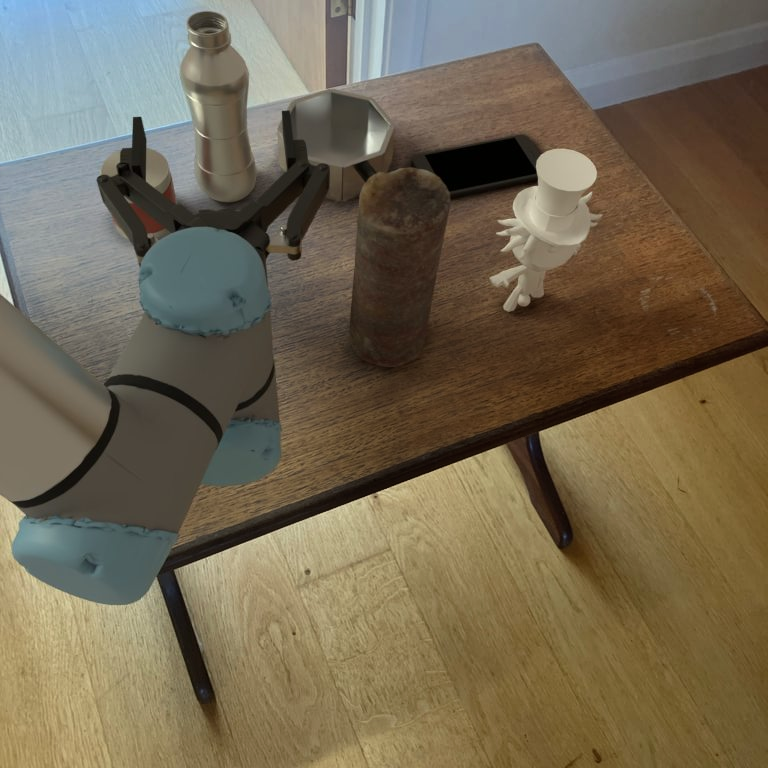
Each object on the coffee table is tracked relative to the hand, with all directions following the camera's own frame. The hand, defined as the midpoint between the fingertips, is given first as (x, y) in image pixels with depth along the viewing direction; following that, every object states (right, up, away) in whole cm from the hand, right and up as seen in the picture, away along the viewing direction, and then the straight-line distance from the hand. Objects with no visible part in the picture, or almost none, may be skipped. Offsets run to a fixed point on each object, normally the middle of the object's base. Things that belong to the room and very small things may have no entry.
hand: (213, 125), depth 77 cm
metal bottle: (-1, -3, +13) cm, 13 cm away
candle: (+16, -21, +3) cm, 26 cm away
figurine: (+30, -16, +6) cm, 35 cm away
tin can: (-9, -7, +9) cm, 15 cm away
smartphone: (+27, 0, +17) cm, 32 cm away
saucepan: (+12, -1, +15) cm, 19 cm away
